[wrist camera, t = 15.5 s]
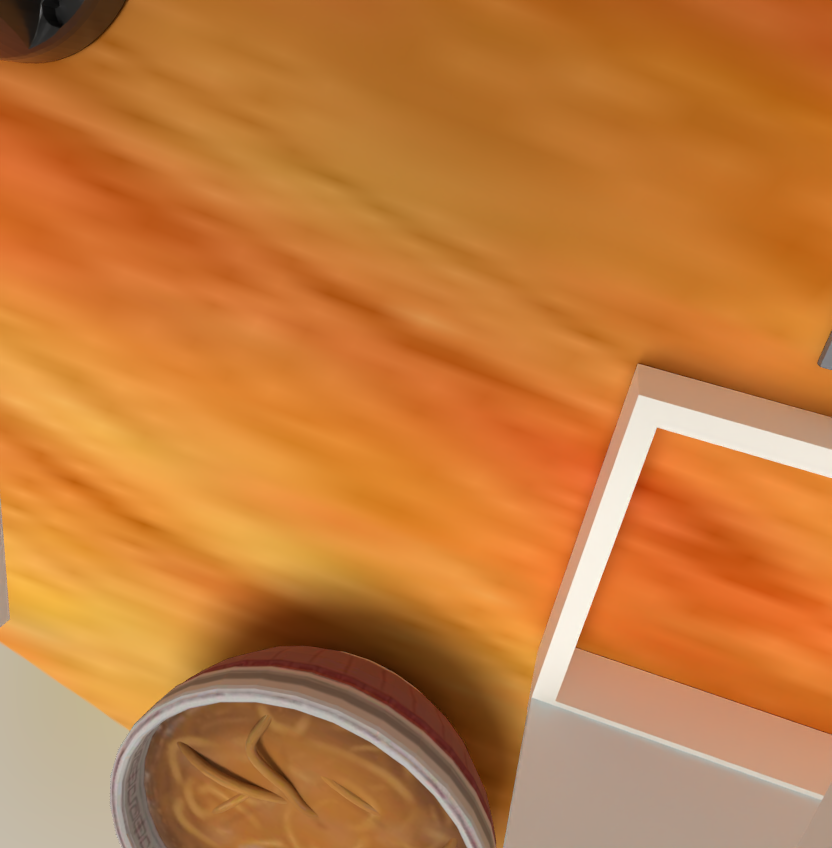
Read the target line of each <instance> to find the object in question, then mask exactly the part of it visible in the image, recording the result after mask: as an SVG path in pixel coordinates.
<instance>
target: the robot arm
mask: <svg viewBox="0 0 832 848" xmlns="http://www.w3.org/2000/svg"><path fill="white" fill-rule="evenodd" d="M124 2H125V0H0V60H5V61H14V62H22V63H44V62H50V61H55V60H59V59H62V58H65V57H67V56H70V55H72V54H74V53H76V52H78V51H80V50H82V49H83V48H85V47H86V46H88V45H89V44H90V43H92V42H93V41H94V40H95V39H96V38H97V37H99V36H100V35H101V34H102V33H103V32H104V31H105V29H106V28H107V27H108V26H109V25H110V24H111V22H112V21H113V20H114V18H115V17H116V15H117V14H118V12H119V11H120V9H121V7H122V6H123V4H124ZM9 619H10V616H9V603H8V590H7V577H6V565H5V552H4V539H3V526H2V513H1V501H0V627H1V626H2V625H3V624H5V623H6V622H7V621H8V620H9ZM797 848H832V782H831V784H830V786H829V788H828V790H827V791H826V793H825V795H824V797H823V799H822V801H821V803H820V805H819V807H818V808H817V810H816V812H815V814H814V816H813V818H812V820H811V822H810V823H809V825H808V827H807V829H806V831H805V833H804V835H803V837H802V838H801V840H800V842H799V844H798V846H797Z"/></svg>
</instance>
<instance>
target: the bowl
mask: <svg viewBox="0 0 832 848" xmlns="http://www.w3.org/2000/svg"><path fill="white" fill-rule="evenodd" d="M110 785H111V786H110V807H111V811H112V816H113V821H114V826H115V831H116V835H117V838H118V840H119V842H120V845H121V847H122V848H496V838H495V832H494V826H493V820H492V816H491V811H490V807H489V802H488V798H487V793H486V791H485V788H484V786H483V784H482V782H481V779H480V777H479V775H478V773H477V770H476V768H475V766H474V764H473V762H472V759H471V757H470V755H469V753H468V751H467V749H466V747H465V744H464V742H463V741H462V739H461V738H460V736H459V735H458V734H457V732H456V731H455V729H454V728H453V727H452V725H451V724H450V722H449V721H448V720H447V718H446V717H445V716H444V715H443V714H442V713H441V712H440V711H439V710H438V709H437V708H436V707H435V706H434V705H433V704H432V703H431V702H430V701H429V700H428V699H427V698H426V697H425V696H424V695H423V694H422V693H421V692H420V691H419V690H418V689H417V688H415V687H414V686H413V685H411V684H410V683H408V682H407V681H406V680H404V679H403V678H402V677H400V676H399V675H397V674H396V673H395V672H393V671H391V670H389V669H387V668H385V667H383V666H381V665H379V664H377V663H375V662H373V661H371V660H368V659H365V658H362V657H359V656H356V655H353V654H350V653H347V652H343V651H337V650H331V649H324V648H318V647H312V646H278V647H273V648H269V649H264V650H260V651H255V652H251V653H247V654H243V655H239V656H235V657H232V658H228V659H226V660H224V661H222V662H220V663H217V664H215V665H213V666H211V667H209V668H207V669H205V670H203V671H201V672H200V673H198V674H196V675H194V676H193V677H191V678H189V679H188V680H186V681H185V682H184V683H182V684H180V685H177V686H176V687H175V688H173V689H172V690H171V691H170V692H169V693H168V694H166V695H165V696H164V697H163V698H162V699H161V700H159V701H158V702H157V703H156V704H155V705H154V706H153V707H152V708H151V709H150V710H149V711H148V712H146V713H145V714H144V715H143V716H142V717H141V718H140V719H139V720H138V721H137V722H136V723H135V724H134V726H133V727H132V729H131V730H130V732H129V733H128V735H127V737H126V738H125V740H124V741H123V743H122V744H121V746H120V748H119V749H118V753H117V756H116V759H115V763H114V766H113V769H112V773H111V784H110Z"/></svg>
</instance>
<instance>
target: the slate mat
mask: <svg viewBox="0 0 832 848" xmlns="http://www.w3.org/2000/svg"><path fill="white" fill-rule="evenodd" d="M817 364H818V365H819V366H820V367H822V368H826V369H830V370H832V331H831V334H830V336H829V338H828V340H827V343H826V345H825V347H824V349H823V351H822V354H821V356H820V358H819V360H818V363H817Z"/></svg>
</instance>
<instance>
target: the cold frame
mask: <svg viewBox="0 0 832 848" xmlns="http://www.w3.org/2000/svg"><path fill="white" fill-rule="evenodd" d="M657 428H661V429H664V430H668V431H671V432H675V433H678V434H682V435H685V436H689V437H692V438H695V439H699V440H702V441H706V442H709V443H713V444H716V445H720V446H723V447H726V448H730V449H733V450H737V451H740V452H744V453H747V454H751V455H754V456H757V457H761V458H764V459H768V460H771V461H775V462H778V463H782V464H785V465H788V466H792V467H795V468H799V469H802V470H806V471H809V472H813V473H816V474H820V475H823V476H826V477H830V478H832V417H828V416H825V415H821V414H818V413H814V412H810V411H807V410H803V409H800V408H796V407H793V406H789V405H785V404H782V403H778V402H775V401H771V400H767V399H764V398H760V397H757V396H753V395H749V394H746V393H742V392H739V391H735V390H731V389H728V388H724V387H721V386H717V385H713V384H710V383H706V382H703V381H699V380H695V379H692V378H688V377H685V376H681V375H677V374H674V373H670V372H667V371H663V370H659V369H656V368H652V367H649V366H645V365H641V364H637V367H636V370H635V373H634V376H633V379H632V382H631V385H630V387H629V390H628V393H627V396H626V399H625V402H624V405H623V408H622V410H621V413H620V416H619V419H618V422H617V425H616V428H615V431H614V433H613V436H612V439H611V442H610V445H609V448H608V451H607V454H606V456H605V459H604V462H603V465H602V468H601V471H600V474H599V477H598V479H597V482H596V485H595V488H594V491H593V494H592V497H591V500H590V502H589V505H588V508H587V511H586V514H585V517H584V520H583V523H582V525H581V528H580V531H579V534H578V537H577V540H576V543H575V546H574V548H573V551H572V554H571V557H570V560H569V563H568V566H567V569H566V572H565V574H564V577H563V580H562V583H561V586H560V589H559V592H558V595H557V597H556V600H555V603H554V606H553V609H552V612H551V615H550V618H549V620H548V623H547V626H546V629H545V632H544V635H543V638H542V641H541V643H540V646H539V649H538V652H537V657H536V663H535V668H534V674H533V680H532V685H531V691H530V696H529V702H528V707H527V710H528V711H527V717H526V723H525V728H524V734H523V739H522V745H521V751H520V756H519V762H518V767H517V773H516V778H515V784H514V790H513V795H512V801H511V806H510V812H509V818H508V823H507V829H506V834H505V840H504V846H503V848H797V846H798V844H799V842H800V840H801V838H802V837H803V835H804V833H805V831H806V829H807V827H808V825H809V823H810V822H811V820H812V818H813V816H814V814H815V812H816V810H817V808H818V807H819V805H820V803H821V801H822V799H823V797H824V795H825V793H826V791H827V790H828V788H829V786H830V784H831V782H832V735H831V734H828V733H825V732H822V731H819V730H816V729H813V728H810V727H807V726H804V725H801V724H798V723H796V722H793V721H790V720H787V719H784V718H781V717H778V716H775V715H772V714H769V713H766V712H763V711H760V710H757V709H754V708H752V707H749V706H746V705H743V704H740V703H737V702H734V701H731V700H728V699H725V698H722V697H719V696H716V695H713V694H710V693H707V692H705V691H702V690H699V689H696V688H693V687H690V686H687V685H684V684H681V683H678V682H675V681H672V680H669V679H666V678H663V677H661V676H658V675H655V674H652V673H649V672H646V671H643V670H640V669H637V668H634V667H631V666H628V665H625V664H622V663H619V662H617V661H614V660H611V659H608V658H605V657H602V656H599V655H596V654H593V653H590V652H587V651H584V650H581V649H578V648H575V647H576V644H577V641H578V639H579V636H580V633H581V631H582V628H583V625H584V622H585V620H586V617H587V614H588V612H589V609H590V606H591V604H592V601H593V598H594V596H595V593H596V590H597V587H598V585H599V582H600V579H601V577H602V574H603V571H604V569H605V566H606V563H607V561H608V558H609V555H610V553H611V550H612V547H613V544H614V542H615V539H616V536H617V534H618V531H619V528H620V526H621V523H622V520H623V518H624V515H625V512H626V509H627V507H628V504H629V501H630V499H631V496H632V493H633V491H634V488H635V485H636V483H637V480H638V477H639V475H640V472H641V469H642V466H643V464H644V461H645V458H646V456H647V453H648V450H649V448H650V445H651V442H652V440H653V437H654V434H655V431H656V429H657Z"/></svg>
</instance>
